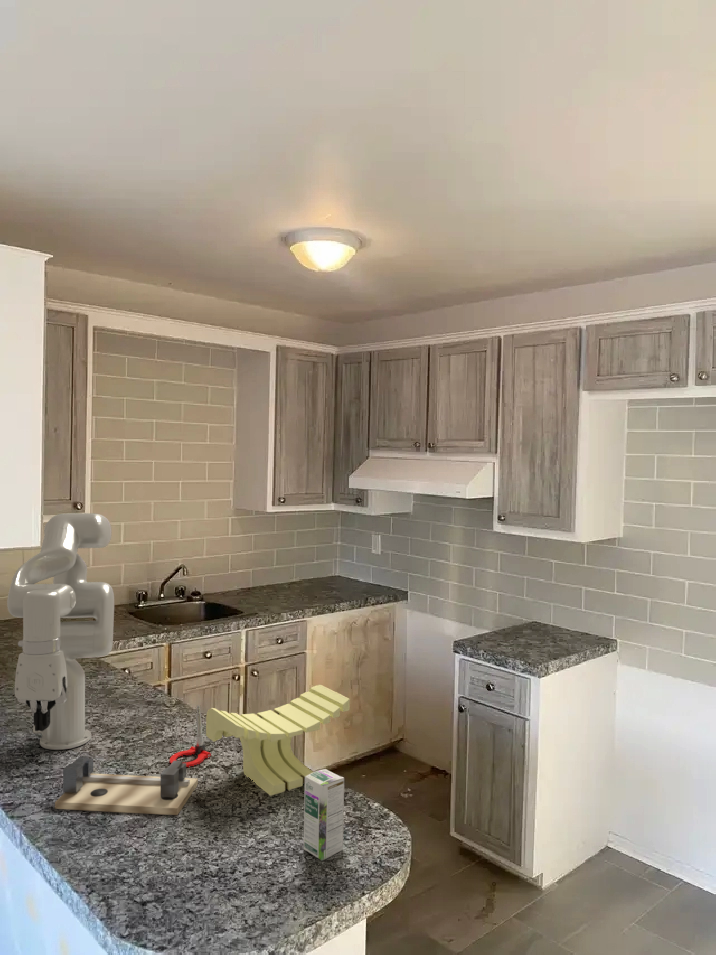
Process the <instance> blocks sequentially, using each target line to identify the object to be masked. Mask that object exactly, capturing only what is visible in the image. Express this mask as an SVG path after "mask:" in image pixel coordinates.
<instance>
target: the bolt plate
mask: <svg viewBox="0 0 716 955" xmlns="http://www.w3.org/2000/svg"><path fill="white" fill-rule="evenodd" d="M182 762H183V760H176V761H173V762H172V764H169V766H168V767H166V768H164V769H163V771H162V772H161V773H160V776H154V775H153V776H151V775H132V774H131V775H130V774H129V775H128V774H114V773H113V774H111V773H94V772H92V773H91V774H90V775H89V776H83V787H82V788H80V789H79V790H78V791H77V792H76V793H74V792H63V794H62V795H61V796H59V797H58V798H57V800H55V802H54V810H57V809H58V810H71V811H91V812H108V813H111V812H112V813H125V814H126V813H128V814H129V813H131V814H148V815H149V814H150V815H165V816H166V815H168V816H178V815H179V814H180V812H181V811H182V809H183V808H184V806H185V805H186V803H187V802H188V800H189V799H190V797H191V796H192V795H193V793H194V792H195V790H196V788H197V787H198V786H199V785H198V784H199V778H197V777H196V778H195V777H187V768H186V763H182ZM197 785H198V786H197ZM193 791H194V792H193Z"/></svg>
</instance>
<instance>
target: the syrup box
mask: <svg viewBox="0 0 716 955" xmlns="http://www.w3.org/2000/svg"><path fill="white" fill-rule="evenodd" d="M303 795H304V800H303V802H304V806H303V807H304V809H303V813H304V814H303V851H306V852H308V853H309V854H311V855H312V856H314V857H315V858H317V859H319V860H320V861H321V862H322V861H325V860H327V859H329V858H330V857H332V856H334V855H336V854H338V853H340V852H341V851H343V850H344V812H345V810H344V809H345V808H344V807H345V801H344V800H345V777H343V776H341V775H338V774H336V773H334V772H332V771H330V770H329V769H326V768H324V769H320V770H316V771H313V773H311V774H309V775H307V776H305V784H304V794H303Z"/></svg>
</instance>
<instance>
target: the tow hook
mask: <svg viewBox="0 0 716 955" xmlns="http://www.w3.org/2000/svg"><path fill="white" fill-rule="evenodd" d="M195 715H196V717H195V718H196V719H195V720H196V736H195V739H196V742H195V743H196V744H195V745H194V746H190V748H189V749H186V750H182V751H178V752H176V753H173V754H172V755H171V756H170V758H169V764H170V763H171V764H172V762H173V761H177V760H178V759H179V758H178V757H180V756H182V757H184V756H183V755H186V756H192V754H193V755H195V753H196V754H198V755H197V758H196V759H194V760H191V761H186V762H185V761H184V762H183V761H182V763H186V767H188V768H190V767H189V766H193V767H195V766H194V765H196V766H198V765H200V764H202V763H203V762H204V760H205V759H209V758H208V757H210V756H211V757H212V753H211V752H210V751H207V750H206V744H204V735H203V730H202V729H203V728H202V713H201V705H199V704H198V705H196V714H195ZM211 757H210V758H211ZM177 758H178V759H177ZM180 758H181V757H180ZM176 759H177V760H176ZM171 764H170V765H171ZM197 764H198V765H197Z"/></svg>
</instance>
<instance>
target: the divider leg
mask: <svg viewBox="0 0 716 955" xmlns="http://www.w3.org/2000/svg"><path fill="white" fill-rule="evenodd" d="M91 773H94V758H90V757H89V756H82V755H81V756H79V757H78V758H76V759H75V760H74V761H73V762H72V763H68V764H67V766H65V767H63V769H62V792H63V793H65V792H74V793H76V792H77V791H78V790H79V789H80V788H82V787H83V776H89V775H90V774H91Z"/></svg>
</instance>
